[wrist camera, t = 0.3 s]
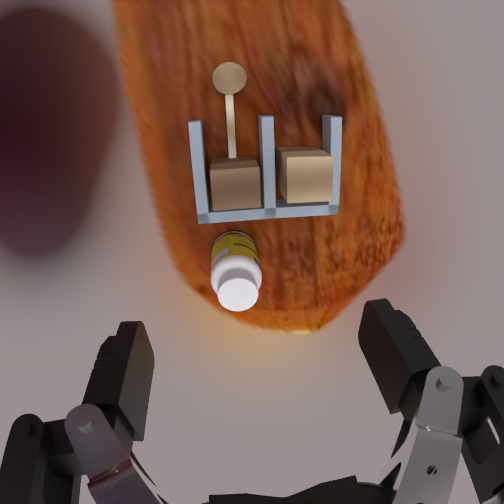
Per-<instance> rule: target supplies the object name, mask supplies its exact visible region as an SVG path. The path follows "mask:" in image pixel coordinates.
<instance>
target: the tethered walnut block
mask: <svg viewBox="0 0 504 504" xmlns="http://www.w3.org/2000/svg"><path fill="white" fill-rule="evenodd" d="M246 80H247V76H246V72H245V70H244V69H243V68H242V67H241V66H240V65H239V64H236V63H233V62H226V63H223V64H221V65H219V66H218V67H217V68H216V69H215V70H214V72H213V76H212V81H213V84H214V86H215V88H216V89H217V90H218V91H219V92H220V93H222V94H225V100H226V117H227V134H228V150H229V157H223V158H212V160H211V166H210V180H211V191H212V202H213V211H219V210H231V209H245V208H258V207H261V194H260V167H259V165H258V163H257V161H256V159H255V157H254V156H253V155H252V156H236V140H235V122H234V104H233V94H234V93H236V92H238V91H240V90H241V89H242V88H243V87H244V86H245V84H246ZM231 94H232V95H231Z"/></svg>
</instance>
